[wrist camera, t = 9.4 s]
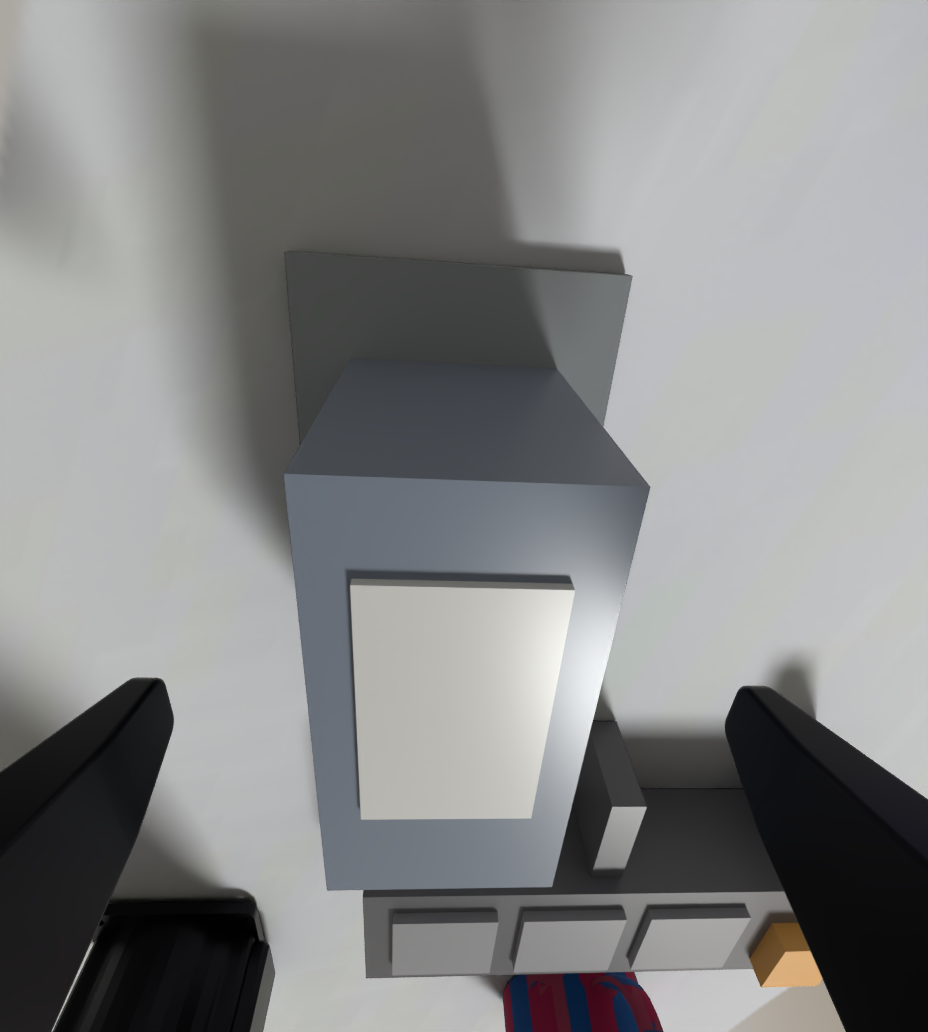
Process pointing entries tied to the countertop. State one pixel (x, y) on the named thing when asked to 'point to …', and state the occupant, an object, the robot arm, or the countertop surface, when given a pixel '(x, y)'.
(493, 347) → the mat
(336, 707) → the block
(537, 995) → the mug
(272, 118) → the countertop surface
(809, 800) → the robot arm
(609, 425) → the countertop surface
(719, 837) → the power strip
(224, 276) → the countertop surface
